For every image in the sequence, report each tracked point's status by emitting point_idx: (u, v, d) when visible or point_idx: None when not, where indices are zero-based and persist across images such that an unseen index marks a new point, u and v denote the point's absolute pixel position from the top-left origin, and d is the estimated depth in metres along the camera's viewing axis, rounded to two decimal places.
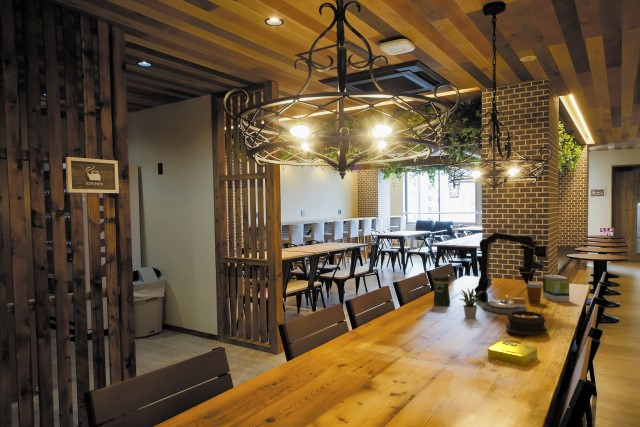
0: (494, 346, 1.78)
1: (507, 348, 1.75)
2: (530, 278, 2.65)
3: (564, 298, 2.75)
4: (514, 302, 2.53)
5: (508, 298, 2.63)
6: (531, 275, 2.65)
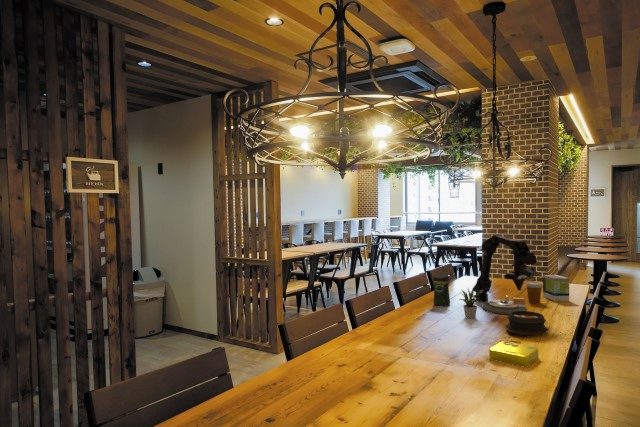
0: (495, 346, 1.77)
1: (508, 348, 1.75)
2: None
3: (564, 298, 2.75)
4: (514, 302, 2.53)
5: (508, 298, 2.63)
6: None
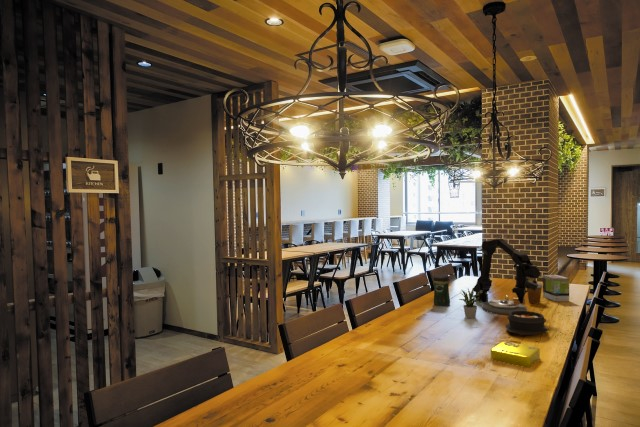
0: (496, 347, 1.77)
1: (509, 349, 1.74)
2: None
3: (564, 298, 2.75)
4: (514, 302, 2.53)
5: (508, 298, 2.63)
6: None
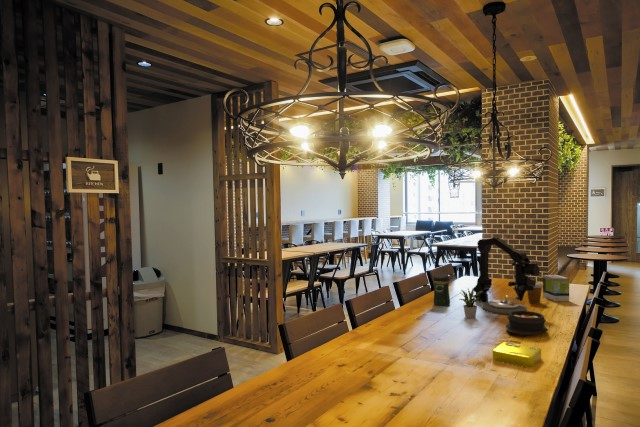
0: (498, 347, 1.76)
1: (511, 349, 1.74)
2: None
3: (564, 298, 2.75)
4: (513, 301, 2.56)
5: (508, 298, 2.63)
6: None
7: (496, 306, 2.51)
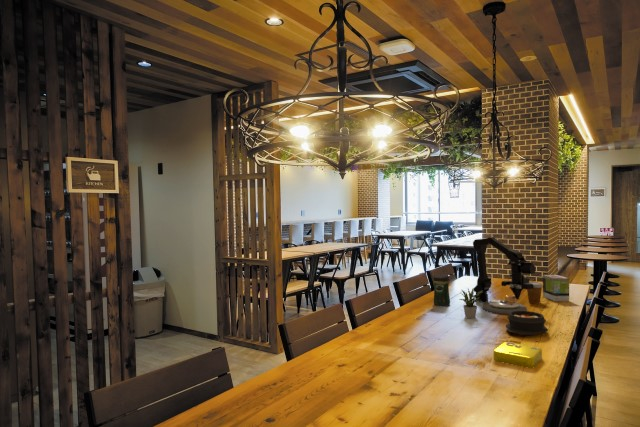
0: (499, 348, 1.76)
1: (512, 349, 1.73)
2: None
3: (564, 298, 2.75)
4: (511, 300, 2.58)
5: None
6: None
7: (501, 307, 2.49)
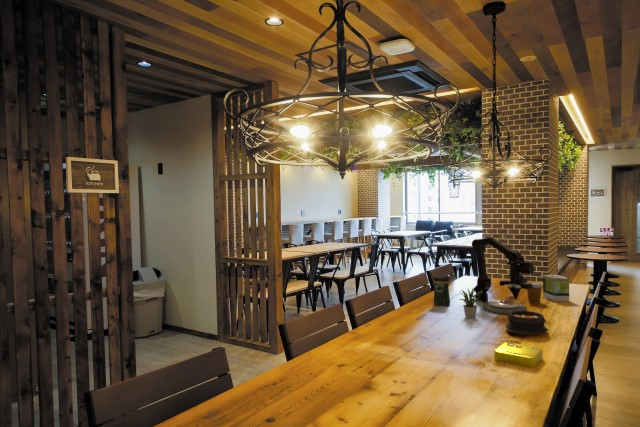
0: (500, 348, 1.75)
1: (513, 350, 1.73)
2: None
3: (564, 298, 2.75)
4: (510, 300, 2.59)
5: None
6: None
7: (503, 307, 2.49)
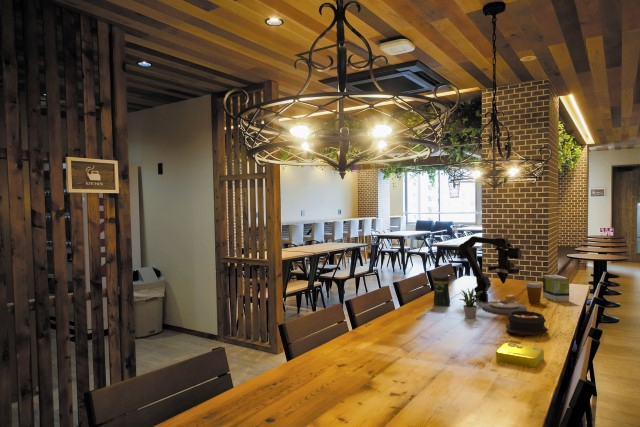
0: (501, 348, 1.75)
1: (514, 350, 1.73)
2: None
3: (564, 298, 2.75)
4: (510, 300, 2.59)
5: None
6: None
7: (503, 307, 2.49)
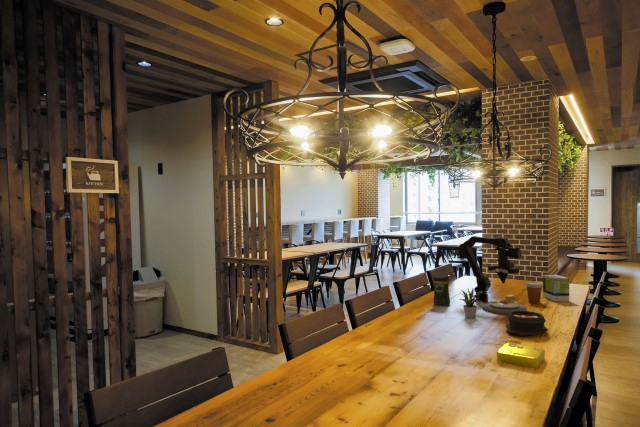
0: (502, 349, 1.74)
1: (515, 350, 1.72)
2: None
3: (564, 298, 2.75)
4: (510, 300, 2.59)
5: None
6: None
7: (503, 307, 2.49)
